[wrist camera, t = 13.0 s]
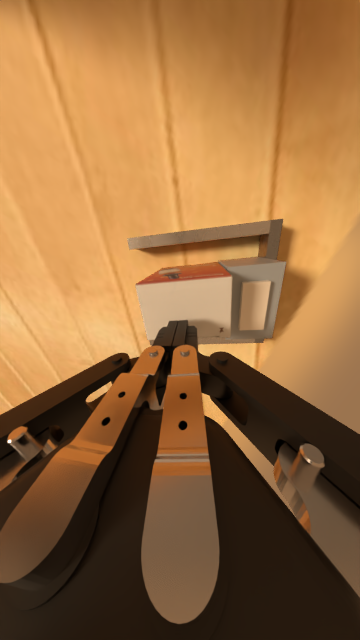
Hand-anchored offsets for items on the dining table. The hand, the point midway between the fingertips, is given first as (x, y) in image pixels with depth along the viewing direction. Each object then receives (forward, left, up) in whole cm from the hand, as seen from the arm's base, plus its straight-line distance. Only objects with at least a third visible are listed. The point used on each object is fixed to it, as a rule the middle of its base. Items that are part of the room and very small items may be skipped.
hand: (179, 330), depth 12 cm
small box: (-1, 0, -12) cm, 12 cm away
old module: (0, +7, -12) cm, 13 cm away
